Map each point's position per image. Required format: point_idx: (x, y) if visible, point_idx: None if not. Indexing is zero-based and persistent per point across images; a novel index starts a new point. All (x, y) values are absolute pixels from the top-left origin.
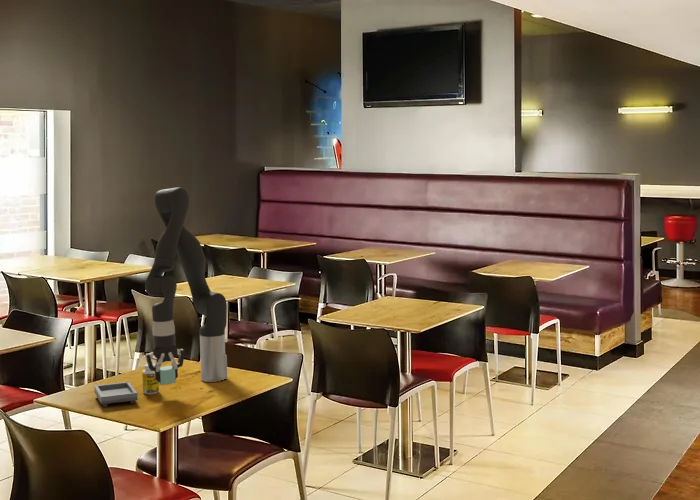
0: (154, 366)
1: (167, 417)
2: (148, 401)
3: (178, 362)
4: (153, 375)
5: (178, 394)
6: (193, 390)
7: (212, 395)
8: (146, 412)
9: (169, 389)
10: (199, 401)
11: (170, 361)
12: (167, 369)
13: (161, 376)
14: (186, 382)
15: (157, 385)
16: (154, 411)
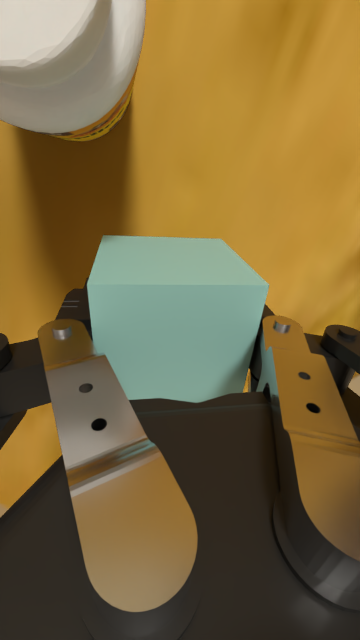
0: (71, 59)
1: None
2: (36, 284)
3: (342, 358)
4: (65, 134)
5: (221, 228)
6: (321, 188)
7: (330, 317)
8: (18, 426)
9: (221, 56)
10: (248, 371)
11: (263, 382)
12: (174, 399)
13: None
14: None
15: (116, 121)
16: (52, 424)
